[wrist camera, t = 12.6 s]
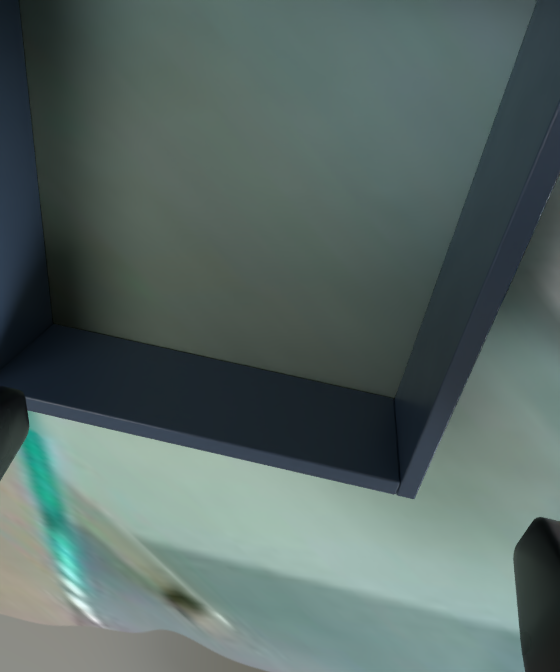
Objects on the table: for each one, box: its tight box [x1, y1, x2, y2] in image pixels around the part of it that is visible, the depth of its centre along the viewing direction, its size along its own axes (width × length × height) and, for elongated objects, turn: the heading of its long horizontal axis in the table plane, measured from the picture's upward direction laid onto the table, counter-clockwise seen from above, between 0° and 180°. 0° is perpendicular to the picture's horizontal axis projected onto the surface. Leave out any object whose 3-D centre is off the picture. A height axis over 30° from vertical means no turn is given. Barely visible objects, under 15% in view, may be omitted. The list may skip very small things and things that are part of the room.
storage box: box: [0, 0, 560, 499], centre depth 16 cm, size 17×17×5 cm
